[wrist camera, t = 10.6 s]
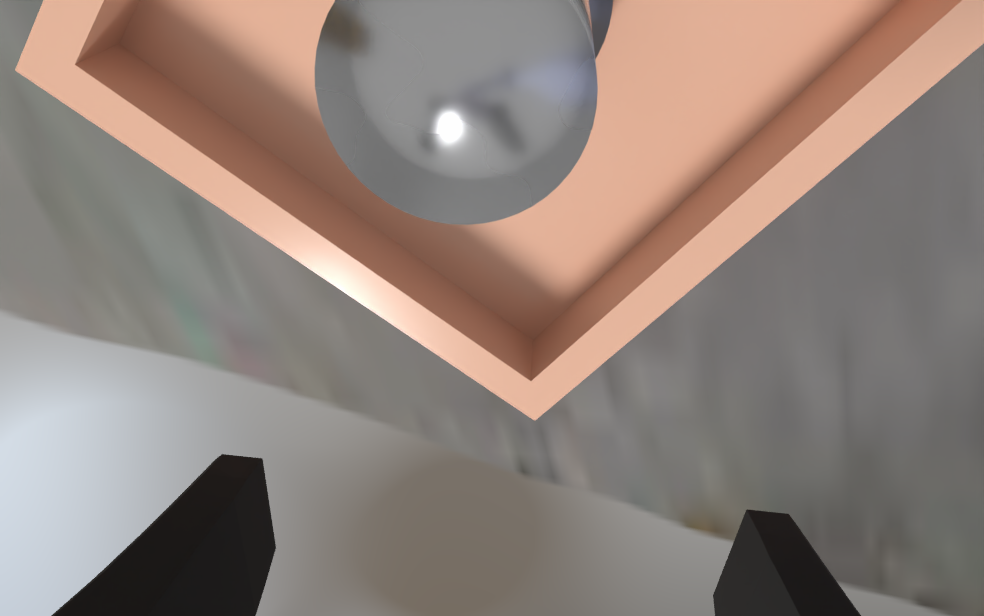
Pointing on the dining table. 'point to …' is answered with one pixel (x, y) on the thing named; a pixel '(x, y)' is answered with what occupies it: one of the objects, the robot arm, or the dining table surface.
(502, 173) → the grey cylinder
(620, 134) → the dish
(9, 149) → the dining table surface
